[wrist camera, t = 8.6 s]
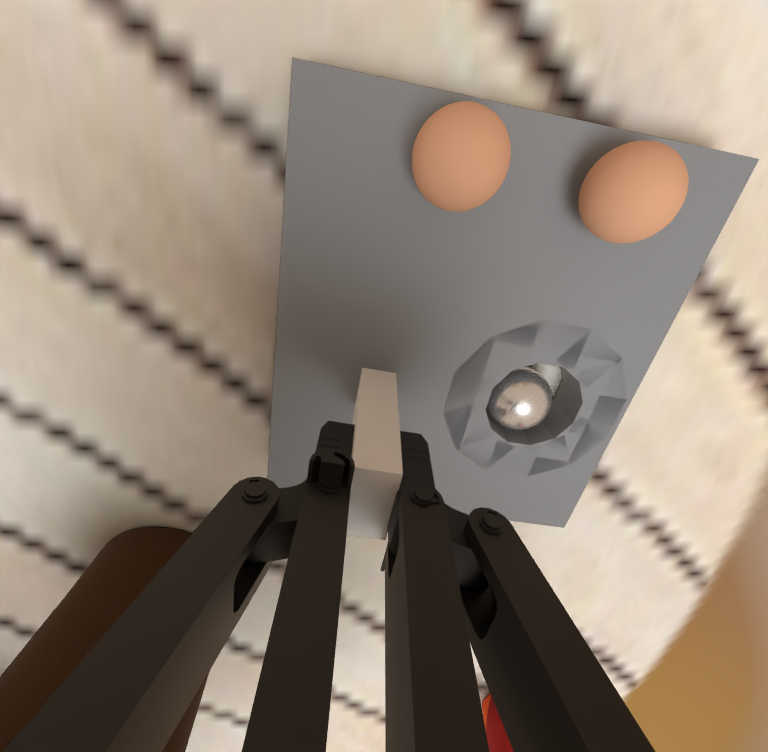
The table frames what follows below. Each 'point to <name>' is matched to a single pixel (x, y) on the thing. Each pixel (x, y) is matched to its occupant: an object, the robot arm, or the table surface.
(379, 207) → the plate
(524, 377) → the ball
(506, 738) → the coffee cup
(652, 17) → the table surface
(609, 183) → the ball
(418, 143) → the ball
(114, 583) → the olive oil
